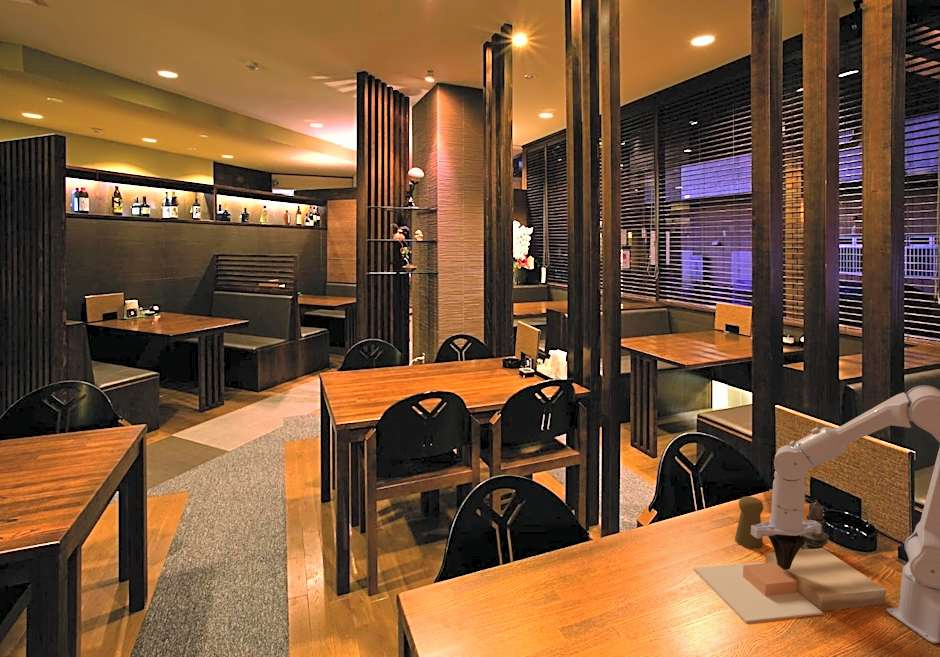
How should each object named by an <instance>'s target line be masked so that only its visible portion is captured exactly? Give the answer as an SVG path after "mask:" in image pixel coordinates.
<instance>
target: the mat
mask: <svg viewBox="0 0 940 657" xmlns="http://www.w3.org/2000/svg"><path fill="white" fill-rule="evenodd" d="M753 564H763V563H762V562H761V561H758V562H756V561H755V562H746V563H745V562H744V563H737V564H736V563H735V564H725V565H715V566H704V567H703V566H702V567H693V571H694V572H695V573H696V574H697V575H698V576H699V578H701V579H702V580H703V581H704V583H705V584H707V585H708V586H709V588H711V589H712V591H714V592H715V593H716V594H717V595H718V596H719V597H720V599H722V600H723V601H724V602H725V603H726V605H728V607H730V608H731V609H732V610H733V611H734V612H735V614H737V616H739V618H740V619H741V620H743V622H744V623H748V624H749V623H756V622H765V621H775V620H776V621H777V620H782V619H783V620H785V619H792V618H801V617H809V616H811V617H812V616H819V615H820V616H822V615H823V613H824V612H823V611H820V610H819V609H818V608H817V607H815V606H814V605H813V604H812V603H810V602H809V601H808V600H807V599H806V598H804V597H803V596H802V595H801V594H799V593H798V592H796V593H789V594H779V595H770V596H764V595H763V594H762V593H761V592H760V591H759V590H758V589H757V588H755V587H754V586H753V585H752V584H751V583H750V582H749V581H747V580H746V579H745V578H744V577H743V565H753Z"/></svg>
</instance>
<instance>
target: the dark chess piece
mask: <svg viewBox="0 0 940 657" xmlns="http://www.w3.org/2000/svg"><path fill="white" fill-rule="evenodd" d="M806 519H807V520H809V521H811V520H815V521H816V522H818V523H820V524H821V533H819V534H816V533H815V532H810V533H804V534H801V535H800V536H801V537H803V538H804V539H805V544H804V545H803V546H802V547H801V548H800V549H801V550H807V549H818V548H824V549H825V550H827V549H826V548H825V547H824V546H826V544H827V542H828V540H829V539H830V536H829V534H827V533H826V532H824V530H823V524H824V523H825V519H824V507H823V505H822V504H820V503H819V500H817V499H816V500H814V502H812V503H809V505H808V515H806Z"/></svg>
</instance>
